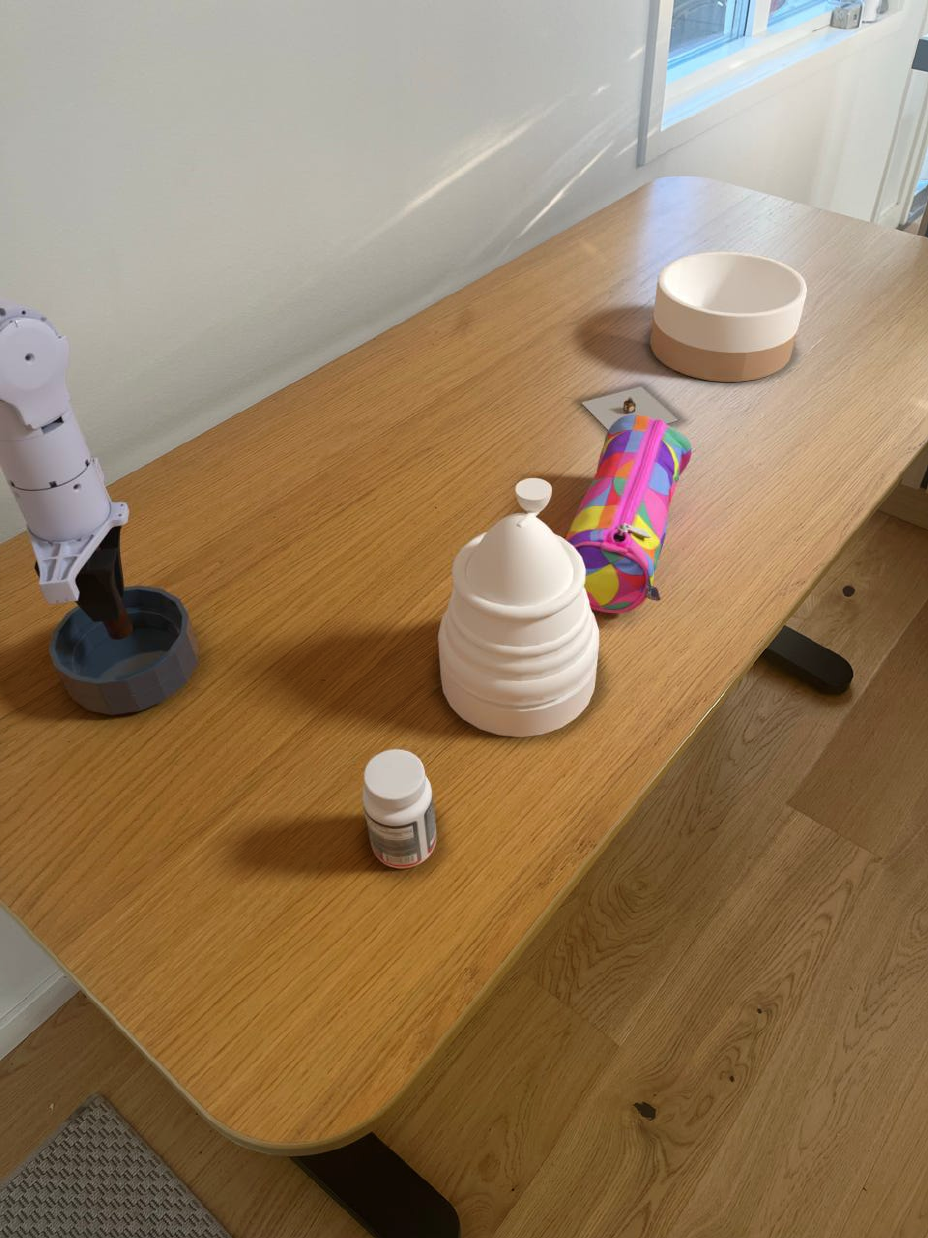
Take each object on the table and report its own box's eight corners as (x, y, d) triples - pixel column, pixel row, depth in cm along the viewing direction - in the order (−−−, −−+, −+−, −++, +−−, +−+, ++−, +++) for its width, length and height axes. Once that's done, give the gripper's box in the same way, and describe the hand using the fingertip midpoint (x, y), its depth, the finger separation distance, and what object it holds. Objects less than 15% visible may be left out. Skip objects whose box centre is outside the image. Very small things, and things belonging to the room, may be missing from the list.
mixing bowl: (58, 727, 74) (38, 691, 70) (78, 631, 81) (61, 594, 78) (196, 709, 74) (182, 672, 71) (203, 615, 82) (191, 578, 79)
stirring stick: (106, 641, 74) (64, 547, 67) (109, 624, 75) (68, 530, 68) (131, 638, 74) (92, 544, 67) (134, 621, 76) (96, 527, 68)
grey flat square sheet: (641, 386, 107) (642, 372, 106) (678, 420, 102) (680, 405, 101) (581, 402, 105) (581, 388, 104) (615, 438, 100) (617, 423, 99)
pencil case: (654, 635, 79) (667, 556, 72) (547, 615, 81) (551, 536, 75) (686, 487, 93) (700, 411, 87) (596, 473, 95) (602, 398, 89)
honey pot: (488, 602, 82) (485, 433, 69) (620, 653, 77) (643, 480, 65) (411, 698, 75) (392, 528, 62) (552, 761, 70) (563, 590, 57)
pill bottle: (406, 801, 68) (397, 731, 62) (450, 840, 65) (445, 771, 59) (357, 841, 65) (342, 772, 59) (401, 883, 63) (390, 816, 57)
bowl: (729, 399, 105) (742, 331, 99) (620, 344, 114) (627, 279, 109) (820, 349, 112) (838, 283, 106) (711, 301, 122) (722, 238, 116)
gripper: (93, 524, 58) (151, 666, 68) (119, 403, 68) (167, 542, 78) (-21, 537, 58) (54, 679, 67) (23, 413, 68) (82, 552, 77)
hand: (108, 606), depth 73 cm, fingers closed on stirring stick, 2 cm apart
